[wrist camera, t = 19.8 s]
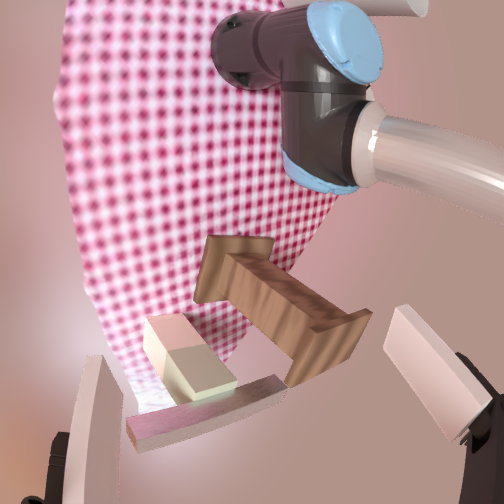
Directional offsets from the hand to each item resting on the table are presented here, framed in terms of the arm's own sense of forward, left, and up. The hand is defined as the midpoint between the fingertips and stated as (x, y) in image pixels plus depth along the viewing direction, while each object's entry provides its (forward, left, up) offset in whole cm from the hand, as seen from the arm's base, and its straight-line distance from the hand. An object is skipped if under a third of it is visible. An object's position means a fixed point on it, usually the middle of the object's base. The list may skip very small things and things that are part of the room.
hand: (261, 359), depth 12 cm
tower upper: (+2, +33, -27) cm, 43 cm away
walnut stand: (-18, +28, -37) cm, 50 cm away
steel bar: (+2, +33, -17) cm, 37 cm away
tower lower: (+2, +33, -37) cm, 50 cm away
